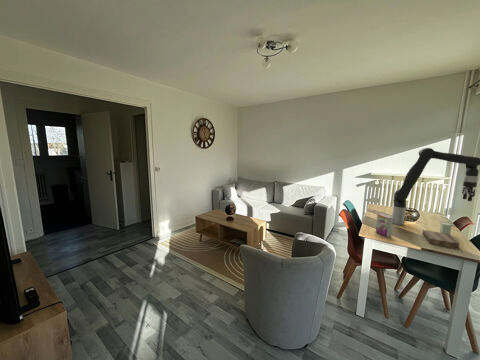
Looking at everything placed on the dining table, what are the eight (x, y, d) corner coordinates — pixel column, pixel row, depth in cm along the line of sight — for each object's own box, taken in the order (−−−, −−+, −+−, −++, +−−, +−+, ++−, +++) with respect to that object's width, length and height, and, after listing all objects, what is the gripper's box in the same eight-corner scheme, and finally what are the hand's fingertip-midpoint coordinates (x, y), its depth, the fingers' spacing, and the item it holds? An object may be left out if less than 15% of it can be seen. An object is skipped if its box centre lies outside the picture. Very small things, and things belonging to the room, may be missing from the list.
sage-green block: (441, 235, 171) (443, 224, 170) (439, 233, 175) (441, 222, 174) (449, 236, 169) (451, 225, 167) (447, 234, 173) (449, 223, 172)
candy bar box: (375, 232, 178) (377, 213, 175) (380, 231, 179) (382, 213, 176) (386, 237, 167) (388, 218, 164) (391, 237, 168) (393, 217, 165)
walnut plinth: (429, 243, 156) (430, 238, 155) (422, 234, 173) (423, 230, 172) (458, 248, 148) (459, 243, 147) (448, 238, 165) (448, 233, 165)
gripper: (460, 179, 179) (457, 198, 181) (468, 181, 166) (464, 201, 169) (472, 180, 175) (468, 199, 177) (481, 182, 163) (477, 202, 165)
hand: (466, 200), depth 173 cm, fingers open, 8 cm apart
